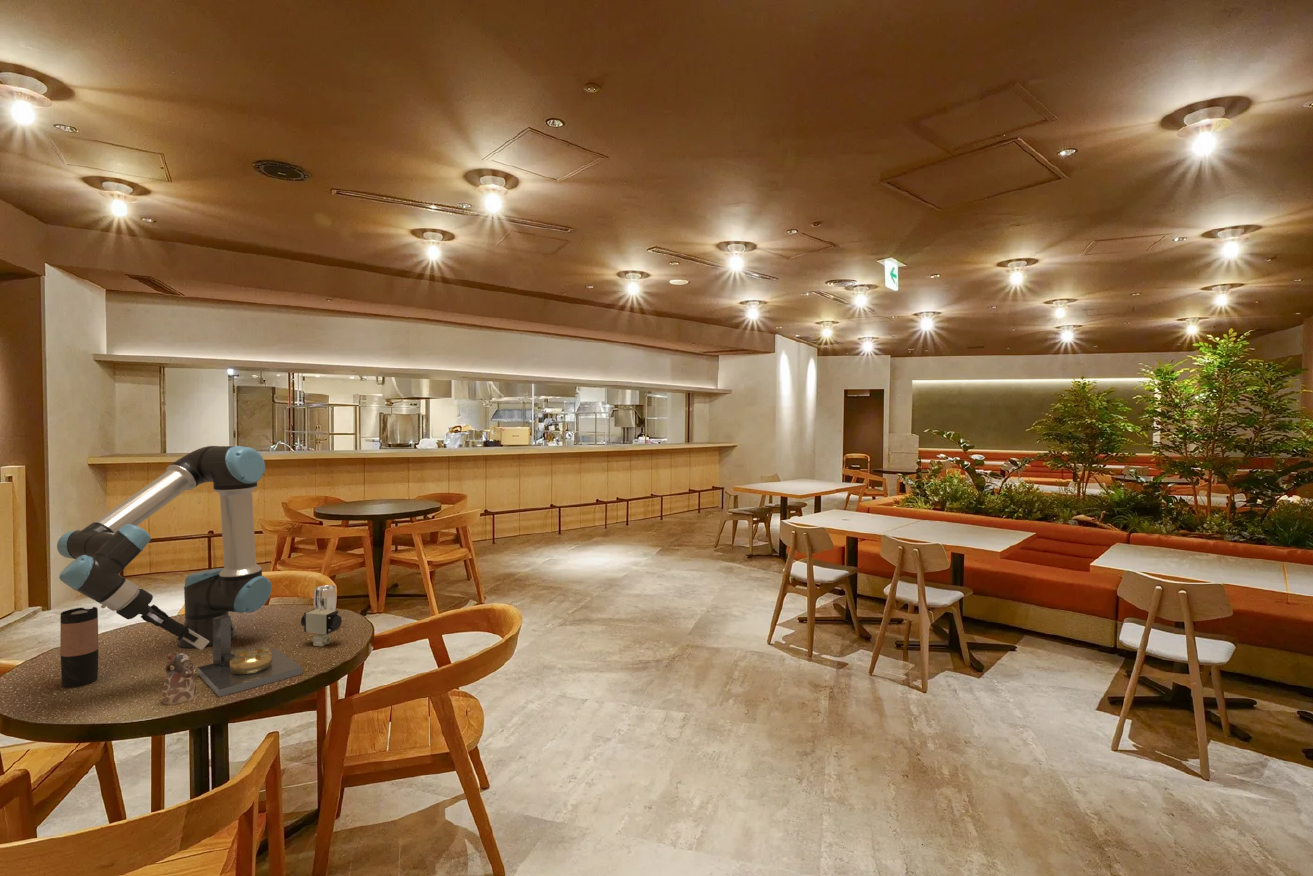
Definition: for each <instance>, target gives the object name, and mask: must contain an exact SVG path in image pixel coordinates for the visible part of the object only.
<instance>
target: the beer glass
mask: <svg viewBox="0 0 1313 876" xmlns="http://www.w3.org/2000/svg"><path fill="white" fill-rule="evenodd" d="M336 586H337V585H333V584H324V585H319V586H316V587H314V591H313V606H314V607H313V608H314V609H320V608H323V609H324V610H326V609H327V610H336V608H337V590H336V589H337V587H336Z"/></svg>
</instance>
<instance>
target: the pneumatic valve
mask: <svg viewBox="0 0 1313 876" xmlns="http://www.w3.org/2000/svg"><path fill="white" fill-rule="evenodd" d="M342 620H343V619H342V617H341V615H340V613H339V610H338V609H337V610H336V609H335V610H327V609H326V610H324V609H323V608H320V609H311V610H309V611H306V612H305V611H304V613H303V614H302V617H301V619H300V624H301V626H302V627H303V632H304V633H312V634H313V633H314V635H313V636H312V638H311V641H312V645H313V647H324V646H327V645H329V644H330V643H331V640H332V638H331V633H333V632H335V631H337V630H339V628H340V627H341V625H342Z"/></svg>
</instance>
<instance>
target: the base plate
mask: <svg viewBox="0 0 1313 876" xmlns="http://www.w3.org/2000/svg"><path fill="white" fill-rule="evenodd" d="M269 651H270V652H272V665H271V666H270V667H268V668H266V669H264V670H261V671H258V672H254V673H249V674H233V673H231V672H230V662H225V663H223V664H217V663H213V662H212V663H210V664H206V665H200V666H198V667H197V675H198V676H199V677H200V678H201V680H202V681H204V682H205V684H206V685H207V686H208V687H209V688H210V689H211V690H212V691H213V692H214V694H216V695H217V697H218V698H221V697H225V696H228V695H232V694H235V693H239V692H243V691H246V690H250V689H254V688H259V687H260V686H264V685H268V684H272V683H274V682H275V683H276V682H279V681H283V680H286V679H290V678H293V677H297V676H301V675H303V672H304V671H303V666H302V665H300V664H299V663H298V662H296V661H295V660H294V659H292V658H291V657H289V656H288V655H287V654H285V653H284V652H282V651H281V650H280V649H278V648H272V649H269Z"/></svg>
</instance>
